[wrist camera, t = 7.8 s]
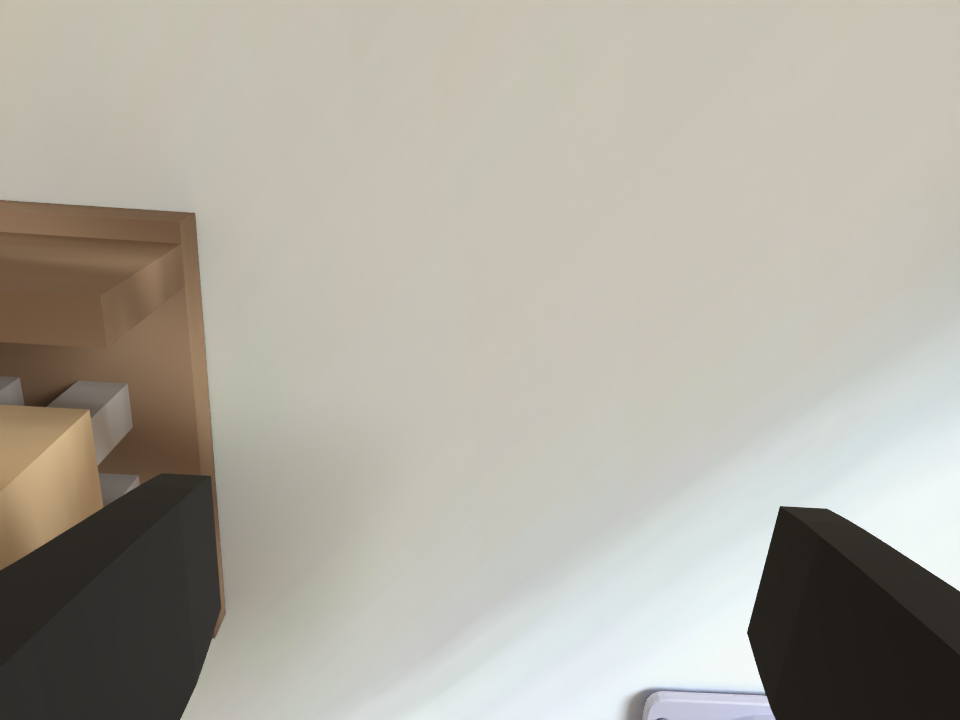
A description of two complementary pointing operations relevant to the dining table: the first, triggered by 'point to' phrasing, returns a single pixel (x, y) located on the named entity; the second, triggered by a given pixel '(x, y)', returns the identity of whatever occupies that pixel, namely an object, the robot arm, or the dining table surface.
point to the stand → (110, 335)
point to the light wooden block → (44, 476)
